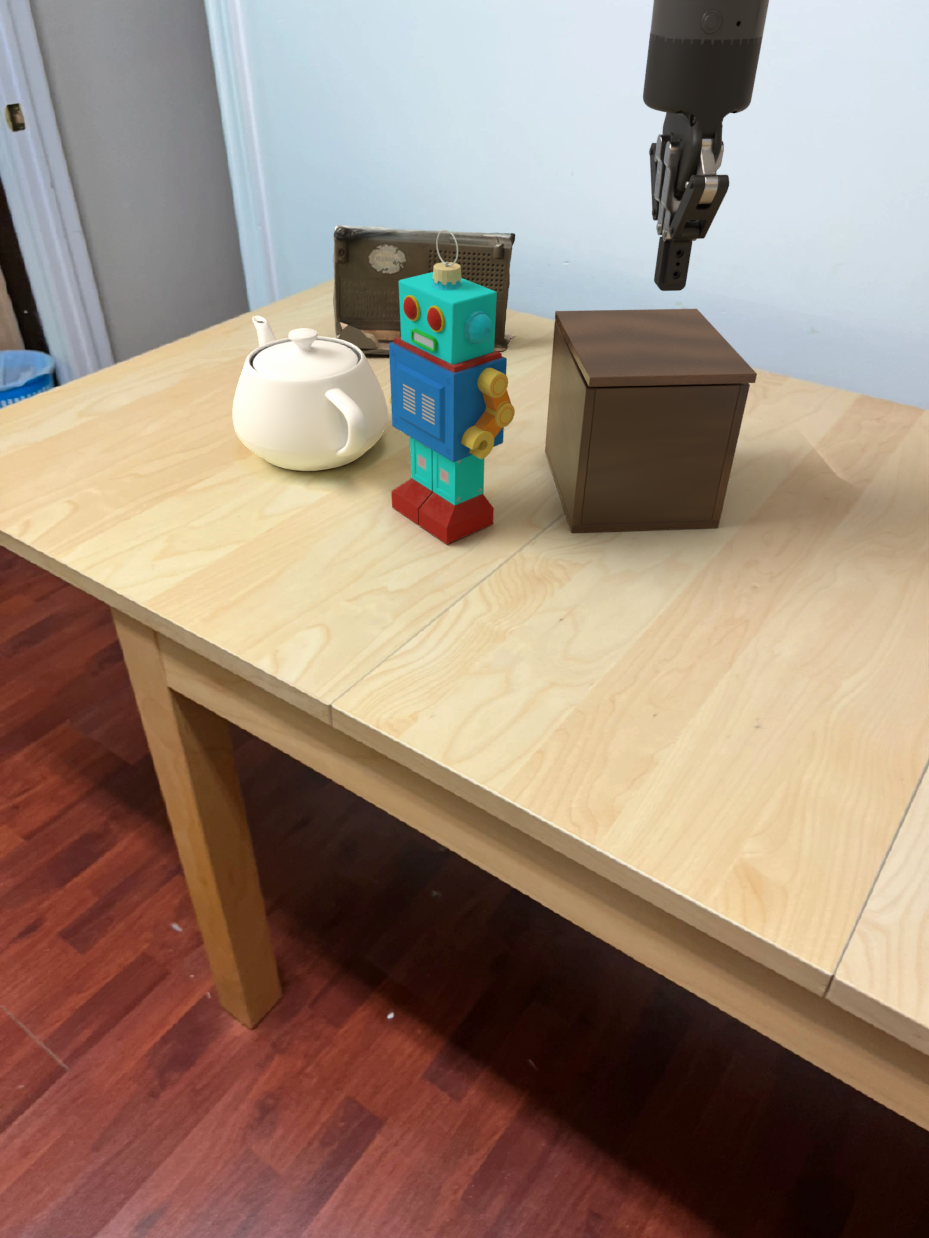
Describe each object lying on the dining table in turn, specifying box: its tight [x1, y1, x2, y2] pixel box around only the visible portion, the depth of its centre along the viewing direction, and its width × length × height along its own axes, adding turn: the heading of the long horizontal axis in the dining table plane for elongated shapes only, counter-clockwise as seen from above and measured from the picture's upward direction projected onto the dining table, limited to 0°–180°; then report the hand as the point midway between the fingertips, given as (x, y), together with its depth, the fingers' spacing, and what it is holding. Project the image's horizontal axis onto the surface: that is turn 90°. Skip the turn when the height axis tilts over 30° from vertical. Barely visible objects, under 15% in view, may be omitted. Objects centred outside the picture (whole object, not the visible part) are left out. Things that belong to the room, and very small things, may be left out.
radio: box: [332, 224, 516, 355], centre depth 110 cm, size 23×9×15 cm, turn 89°
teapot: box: [231, 315, 389, 472], centre depth 90 cm, size 25×16×12 cm, turn 32°
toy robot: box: [388, 228, 516, 545], centre depth 75 cm, size 12×6×25 cm, turn 40°
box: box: [544, 319, 751, 534], centre depth 83 cm, size 16×14×14 cm
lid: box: [554, 308, 758, 387], centre depth 78 cm, size 16×14×1 cm
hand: (668, 287), depth 71 cm, fingers closed
